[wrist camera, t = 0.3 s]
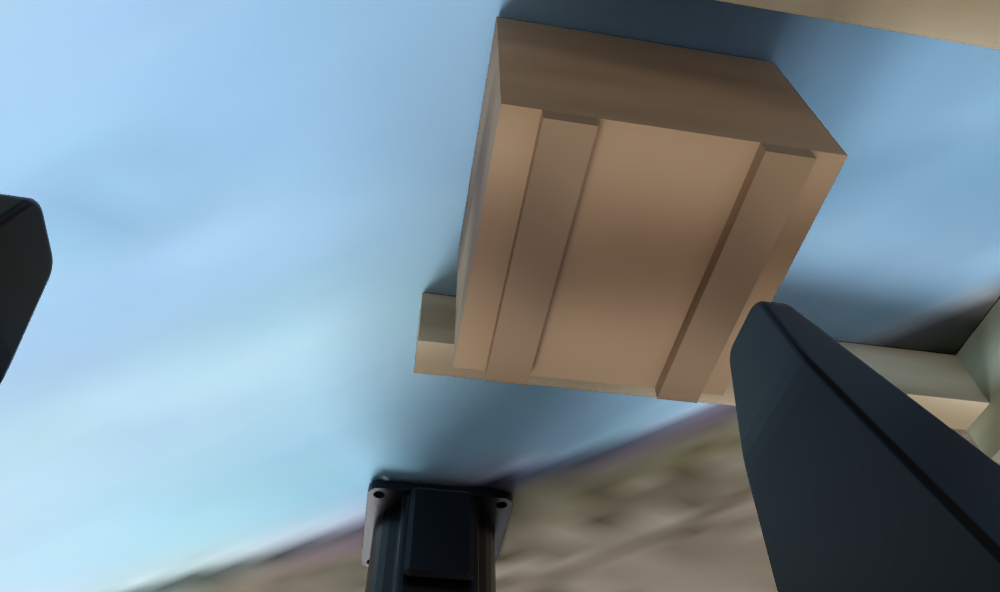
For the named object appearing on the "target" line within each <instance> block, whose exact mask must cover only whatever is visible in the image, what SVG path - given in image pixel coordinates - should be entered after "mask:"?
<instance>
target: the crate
mask: <svg viewBox="0 0 1000 592" xmlns="http://www.w3.org/2000/svg"><path fill="white" fill-rule="evenodd" d="M846 158H847V154H846V153H845V152H844V151H843V149H842V148H841V147H840V146H839V144H838V143H837V142H836V141H835V139H834V138H833V137H832V136H831V134H830V133H829V132H828V130H827V129H826V128H825V127H824V125H823V124H822V123H821V122H820V120H819V119H818V118H817V117H816V115H815V114H814V113H813V112H812V110H811V109H810V108H809V107H808V105H807V104H806V103H805V102H804V100H803V99H802V98H801V97H800V95H799V94H798V93H797V91H796V90H795V89H794V88H793V86H792V85H791V84H790V83H789V81H788V80H787V79H786V78H785V76H784V75H783V74H782V73H781V71H780V70H779V69H778V68H777V66H776V65H775V64H774V63H773V62H768V61H762V60H756V59H750V58H744V57H738V56H732V55H726V54H720V53H714V52H708V51H702V50H696V49H689V48H683V47H677V46H671V45H665V44H659V43H653V42H647V41H641V40H635V39H629V38H623V37H617V36H611V35H604V34H598V33H592V32H586V31H580V30H574V29H568V28H562V27H556V26H550V25H544V24H538V23H532V22H526V21H519V20H513V19H507V18H501V17H497V18H496V24H495V31H494V37H493V43H492V49H491V55H490V61H489V67H488V73H487V79H486V85H485V92H484V98H483V104H482V110H481V116H480V122H479V128H478V134H477V140H476V146H475V153H474V159H473V165H472V171H471V177H470V183H469V189H468V195H467V201H466V207H465V213H464V220H463V226H462V232H461V238H460V244H459V250H458V267H457V292H456V316H455V341H454V366H453V367H457V368H466V369H476V370H485V381H493V382H503V383H512V384H522V385H527V384H528V381H529V377H530V375H532V376H542V377H551V378H561V379H570V380H580V381H589V382H599V383H608V384H617V385H627V386H636V387H646V388H655V392H656V396H657V399H666V400H676V401H685V402H695V403H697V402H698V400H699V398H700V396H701V394H702V393H703V394H712V395H721V396H723V395H724V393H725V391H726V389H727V387H728V385H729V383H730V381H731V379H732V376H731V369H730V352H731V348H732V345H733V343H734V341H735V339H736V337H737V335H738V333H739V331H740V329H741V327H742V325H743V323H744V321H745V319H746V317H747V315H748V313H749V311H750V310H751V308H752V307H753V306H754V305H755V303H757V302H760V301H766V302H772V300H773V298H774V296H775V295H776V293H777V291H778V289H779V287H780V285H781V283H782V281H783V279H784V277H785V275H786V273H787V271H788V269H789V268H790V266H791V264H792V262H793V260H794V258H795V256H796V254H797V252H798V250H799V248H800V246H801V244H802V243H803V241H804V239H805V237H806V235H807V233H808V231H809V229H810V227H811V225H812V223H813V221H814V219H815V217H816V216H817V214H818V212H819V210H820V208H821V206H822V204H823V202H824V200H825V198H826V196H827V194H828V192H829V190H830V189H831V187H832V185H833V183H834V181H835V179H836V177H837V175H838V173H839V171H840V169H841V167H842V165H843V164H844V162H845V160H846Z"/></svg>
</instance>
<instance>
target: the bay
mask: <svg viewBox="0 0 1000 592" xmlns="http://www.w3.org/2000/svg"><path fill="white" fill-rule="evenodd" d="M716 1H722V2H728V3H734V4H740V5H745V6H751V7H757V8H763V9H768V10H774V11H780V12H786V13H791V14H797V15H803V16H809V17H814V18H820V19H826V20H832V21H837V22H843V23H849V24H855V25H860V26H866V27H872V28H878V29H883V30H889V31H895V32H901V33H906V34H912V35H918V36H924V37H929V38H935V39H941V40H947V41H952V42H958V43H964V44H970V45H975V46H981V47H987V48H993V49H999V50H1000V0H716ZM455 316H456V297H455V296H447V295H438V294H430V293H423V295H422V303H421V310H420V318H419V326H418V336H417V346H416V356H415V366H414V372H415V373H425V374H434V375H444V376H454V377H463V378H473V379H482V380H485V370H476V369H466V368H457V367H453V366H454V341H455ZM837 342H838V341H837ZM838 343H839V344H841V345H842V346H843V347H845V348H846V349H847V350H849V351H850V352H851V353H853V354H854V355H855V356H856V357H858V358H859V359H860V360H862V361H863V362H864V363H866V364H867V365H868V366H870V367H871V368H872V369H874V370H875V371H876V372H878V373H879V374H880V375H882V376H883V377H884V378H885V379H887V380H888V381H889V382H891V383H892V384H893V385H895V386H896V387H897V388H899V389H900V390H901V391H903V392H904V393H905V394H907V395H908V396H909V397H910V398H912V399H913V400H914V401H916V402H917V403H918V404H920V405H921V406H922V407H924V408H925V409H926V410H928V411H929V412H930V413H932V414H933V415H934V416H935V417H937V418H938V419H939V420H941V421H942V422H943V423H945V424H946V425H947V426H949V427H950V428H953V429H962V430H967V431H968V432H969V434H970V435H971V437H972V438H973V440H974V441H975V443H976V444H977V446H978V447H979V449H980V451H982V452H983V453H984V454H986V455H987V456H988V457H989V458H991V459H992V460H993V461H995V462H996V463H1000V298H999V300H998V301H997V302H996V303H995V305H994V306H993V307H992V309H991V310H990V311H989V313H988V314H987V315H986V316H985V318H984V319H983V320H982V322H981V323H980V324H979V326H978V327H977V328H976V329H975V331H974V332H973V333H972V335H971V336H970V337H969V339H968V340H967V341H966V343H965V344H964V345H963V346H962V348H961V349H960V350H959V352H958V353H957V354H956V355H949V354H941V353H932V352H924V351H915V350H906V349H898V348H889V347H881V346H872V345H864V344H855V343H847V342H838ZM528 384H530V385H540V386H550V387H559V388H569V389H578V390H588V391H598V392H607V393H617V394H626V395H636V396H645V397H655V398H657V396H656V392H655V388H646V387H636V386H627V385H617V384H608V383H599V382H589V381H580V380H570V379H561V378H551V377H542V376H532V375H530V377H529V381H528ZM698 402H703V403H713V404H722V405H732V406H736V404H735V397H734V390H733V383H732V379H731V381H730V383H729V385H728V387H727V389H726V391H725V393H724V395H723V396H721V395H712V394H703V393H702V394H701V396H700V398H699V400H698Z"/></svg>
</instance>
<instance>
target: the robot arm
mask: <svg viewBox="0 0 1000 592" xmlns="http://www.w3.org/2000/svg"><path fill="white" fill-rule="evenodd" d="M51 270H52V252H51V248H50V243H49V239H48V234H47V230H46V225H45V221H44V216H43V212H42V209H41V207H40V205H39V204H38V203H37V202H36V201H35V200H33V199H31V198H25V197H18V196H11V195H4V194H0V383H1V382H2V380H3V378H4V376H5V374H6V372H7V370H8V368H9V366H10V364H11V362H12V360H13V358H14V355H15V353H16V351H17V349H18V346H19V344H20V342H21V340H22V337H23V335H24V333H25V331H26V328H27V326H28V324H29V322H30V320H31V317H32V315H33V313H34V311H35V308H36V306H37V304H38V302H39V299H40V297H41V295H42V293H43V290H44V288H45V286H46V284H47V281H48V279H49V277H50V274H51ZM730 369H731V376H732V383H733V390H734V397H735V404H736V411H737V419H738V426H739V433H740V440H741V447H742V452H743V458H744V463H745V467H746V471H747V475H748V479H749V483H750V487H751V491H752V495H753V498H754V502H755V506H756V510H757V514H758V518H759V521H760V525H761V529H762V533H763V537H764V540H765V544H766V548H767V552H768V556H769V560H770V563H771V567H772V571H773V575H774V579H775V583H776V586H777V590H778V592H1000V465H999V464H997V463H996V462H995V461H993V460H992V459H991V458H989V457H988V456H987V455H986V454H984V453H983V452H982V451H980V450H979V449H978V448H976V447H975V446H974V445H972V444H971V443H970V442H968V441H967V440H966V439H964V438H963V437H962V436H960V435H959V434H958V433H957V432H955V431H954V430H953V429H951V428H950V427H949V426H947V425H946V424H945V423H943V422H942V421H941V420H939V419H938V418H937V417H935V416H934V415H933V414H932V413H930V412H929V411H928V410H926V409H925V408H924V407H922V406H921V405H920V404H918V403H917V402H916V401H914V400H913V399H912V398H910V397H909V396H908V395H907V394H905V393H904V392H903V391H901V390H900V389H899V388H897V387H896V386H895V385H893V384H892V383H891V382H889V381H888V380H887V379H885V378H884V377H883V376H882V375H880V374H879V373H878V372H876V371H875V370H874V369H872V368H871V367H870V366H868V365H867V364H866V363H864V362H863V361H862V360H860V359H859V358H858V357H856V356H855V355H854V354H853V353H851V352H850V351H849V350H847V349H846V348H845V347H843V346H842V345H841V344H839V343H838V342H837V341H835V340H834V339H833V338H831V337H830V336H829V335H828V334H826V333H825V332H824V331H822V330H821V329H820V328H818V327H817V326H816V325H814V324H813V323H812V322H810V321H809V320H808V319H806V318H805V317H804V316H803V315H801V314H800V313H799V312H797V311H796V310H795V309H793V308H792V307H791V306H789V305H786V304H781V303H774V302H766V301H760V302H757V303H755V305H754V306H753V307H752V308H751V310H750V311H749V313H748V315H747V317H746V319H745V321H744V323H743V325H742V327H741V329H740V331H739V333H738V335H737V337H736V339H735V341H734V343H733V345H732V348H731V352H730ZM511 509H512V495H511V494H510V493H509V492H506V491H499V490H487V489H475V488H464V487H452V486H441V485H429V484H417V483H406V482H394V481H382V480H377V481H373V482H372V483H370V485H369V489H368V497H367V508H366V518H365V529H364V540H363V551H362V564H363V565H364V566H366V567H368V574H367V582H366V589H365V592H496V578H495V562H496V559H497V556H498V552H499V549H500V546H501V543H502V539H503V536H504V533H505V529H506V526H507V523H508V519H509V516H510V513H511Z"/></svg>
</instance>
